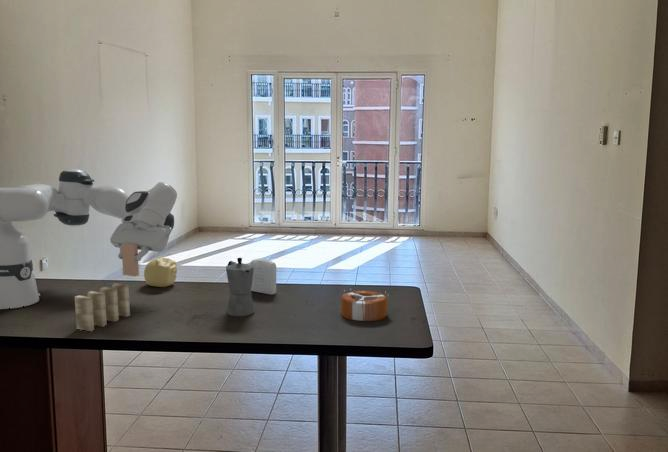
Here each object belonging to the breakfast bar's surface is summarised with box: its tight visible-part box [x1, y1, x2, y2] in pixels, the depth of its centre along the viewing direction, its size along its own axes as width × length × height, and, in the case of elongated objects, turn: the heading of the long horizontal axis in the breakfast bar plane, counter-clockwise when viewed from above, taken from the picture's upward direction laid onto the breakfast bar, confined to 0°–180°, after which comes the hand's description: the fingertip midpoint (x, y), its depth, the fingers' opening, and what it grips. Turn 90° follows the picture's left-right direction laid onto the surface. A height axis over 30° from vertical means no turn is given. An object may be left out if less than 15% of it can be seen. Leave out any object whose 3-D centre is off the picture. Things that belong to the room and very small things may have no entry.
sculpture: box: [143, 256, 178, 288], centre depth 217 cm, size 12×12×11 cm
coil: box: [340, 287, 390, 322], centre depth 184 cm, size 7×15×15 cm
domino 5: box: [121, 243, 140, 277], centre depth 184 cm, size 5×2×10 cm, turn 67°
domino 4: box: [111, 282, 131, 318], centre depth 182 cm, size 5×2×10 cm, turn 68°
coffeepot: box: [225, 257, 255, 317], centre depth 186 cm, size 15×9×18 cm, turn 33°
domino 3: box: [99, 286, 120, 323], centre depth 177 cm, size 5×2×10 cm, turn 68°
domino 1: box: [74, 294, 95, 332], centre depth 168 cm, size 5×2×10 cm, turn 68°
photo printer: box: [249, 258, 277, 295], centre depth 209 cm, size 10×4×12 cm, turn 60°
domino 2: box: [87, 290, 108, 327], centre depth 173 cm, size 5×2×10 cm, turn 68°
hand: (128, 259), depth 183 cm, fingers closed on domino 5, 5 cm apart
